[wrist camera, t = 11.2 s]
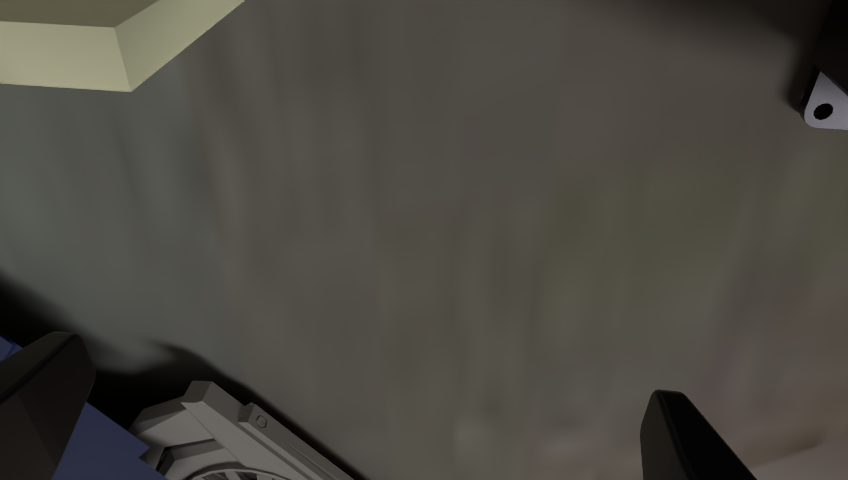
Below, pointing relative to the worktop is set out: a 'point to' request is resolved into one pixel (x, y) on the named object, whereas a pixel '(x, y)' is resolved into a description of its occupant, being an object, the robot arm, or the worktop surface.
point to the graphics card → (224, 441)
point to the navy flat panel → (97, 445)
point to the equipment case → (98, 39)
